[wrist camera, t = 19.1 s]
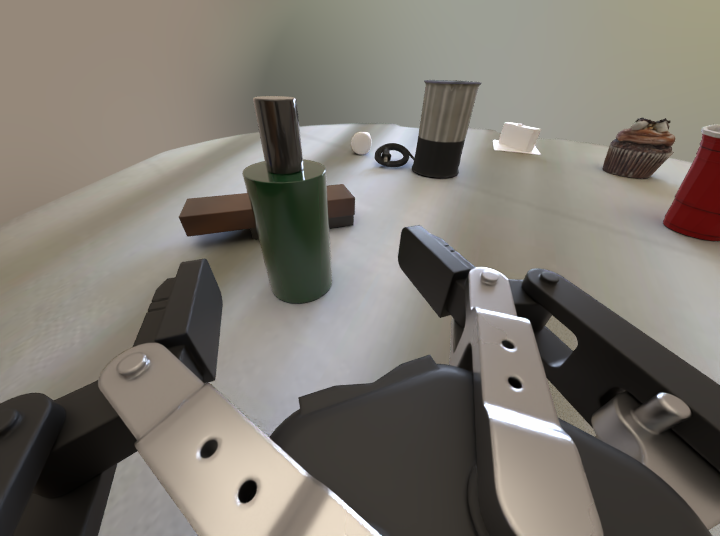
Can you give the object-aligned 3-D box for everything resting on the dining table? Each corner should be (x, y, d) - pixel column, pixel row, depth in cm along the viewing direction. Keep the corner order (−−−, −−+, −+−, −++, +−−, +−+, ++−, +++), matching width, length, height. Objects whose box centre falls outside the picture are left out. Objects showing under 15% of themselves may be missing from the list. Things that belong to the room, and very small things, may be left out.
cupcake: (601, 174, 53) (634, 118, 47) (593, 163, 59) (621, 113, 53) (662, 183, 49) (706, 124, 43) (646, 170, 56) (682, 118, 50)
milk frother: (467, 178, 48) (493, 81, 39) (386, 181, 46) (395, 78, 37) (436, 158, 59) (452, 80, 50) (370, 160, 57) (374, 77, 48)
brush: (193, 250, 27) (178, 217, 25) (199, 229, 30) (187, 198, 28) (354, 226, 32) (355, 197, 30) (343, 211, 35) (343, 183, 33)
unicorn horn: (379, 136, 79) (380, 119, 76) (370, 156, 60) (371, 133, 57) (364, 136, 79) (365, 118, 76) (350, 155, 61) (350, 132, 58)
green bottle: (273, 310, 20) (219, 101, 12) (269, 270, 24) (226, 94, 16) (338, 295, 22) (332, 101, 13) (324, 260, 26) (312, 94, 17)
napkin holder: (541, 154, 65) (552, 129, 62) (494, 149, 68) (501, 125, 65) (532, 143, 77) (541, 121, 73) (492, 139, 80) (498, 118, 76)
